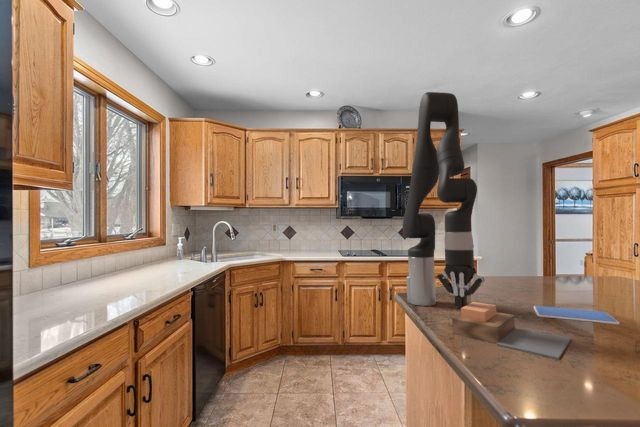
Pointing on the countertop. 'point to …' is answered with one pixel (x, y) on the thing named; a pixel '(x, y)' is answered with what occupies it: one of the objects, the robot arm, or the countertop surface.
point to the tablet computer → (575, 314)
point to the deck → (485, 327)
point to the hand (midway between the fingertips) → (461, 309)
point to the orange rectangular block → (478, 311)
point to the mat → (535, 342)
